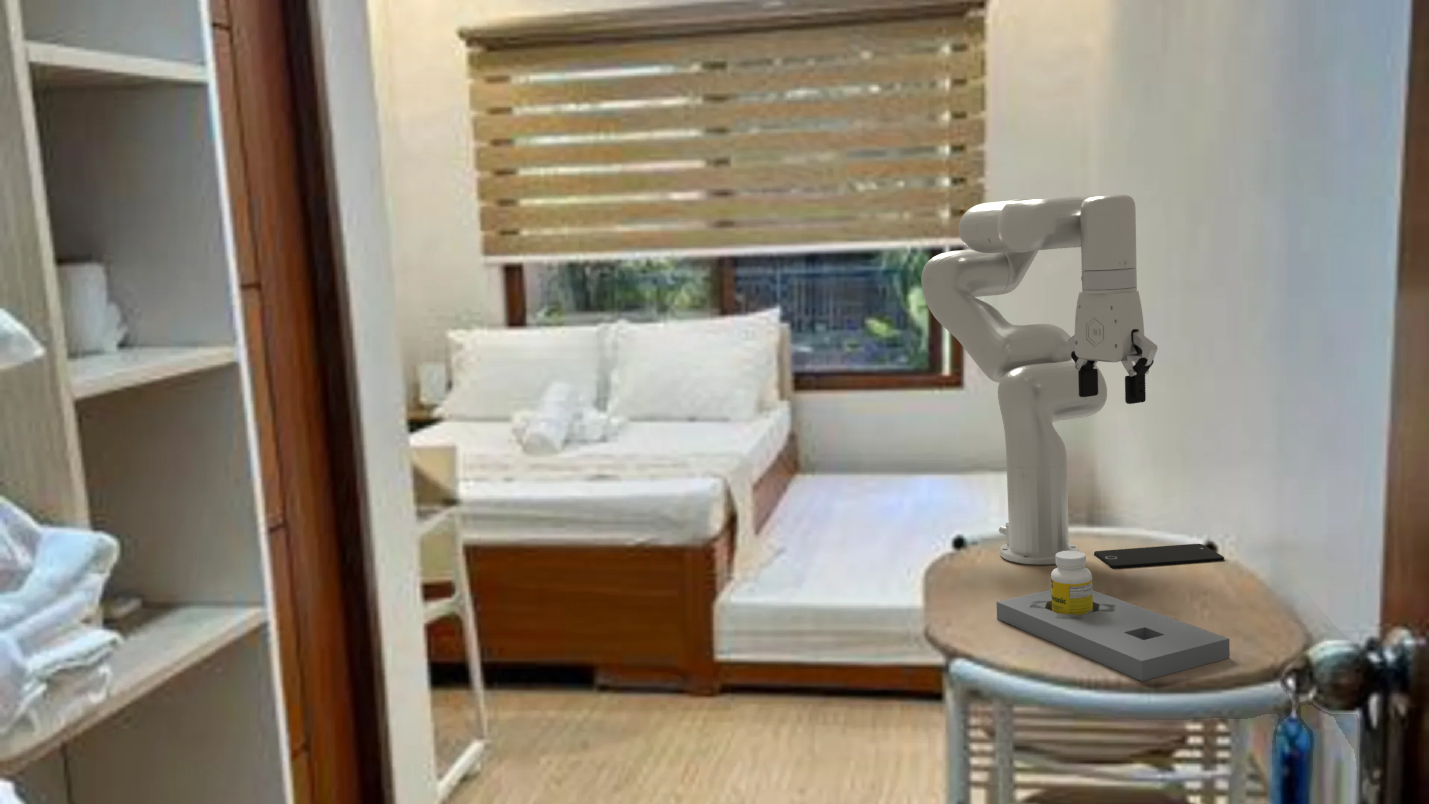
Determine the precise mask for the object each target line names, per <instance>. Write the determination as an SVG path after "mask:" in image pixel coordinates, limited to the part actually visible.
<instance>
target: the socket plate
mask: <svg viewBox="0 0 1429 804" xmlns="http://www.w3.org/2000/svg"><path fill="white" fill-rule="evenodd" d="M1092 596H1093V612H1092V613H1087V614H1083V615H1073V614H1058V613H1056V612H1053V611H1052V592H1051V589H1048V590H1044V591H1039V592H1034V593H1030V594H1024V595H1022V596H1017V597H1012V598H1007V599H1002V600H999V601H996V619H997V620H998V621H1002V622H1003V621H1004V622H1003V623H1006V624H1008V623H1009V625H1010V624H1011V625H1010V626H1012V627H1015V626H1016V627H1015V628H1016V629H1017V628H1018V629H1020V630H1022V631H1025V632H1027V633H1029V634H1032V635H1034V636H1036V637H1038V638H1040V639H1044V640H1046V641H1047V642H1050V643H1053V644H1054V645H1057V646H1059V647H1061V648H1064V649H1066V650H1069V651H1071V652H1073V653H1075V654H1078V655H1080V656H1083V657H1085V658H1087V659H1089V660H1092V661H1094V662H1097V663H1099V664H1101V665H1103V666H1105V667H1109V668H1110V669H1113V670H1115V671H1118V672H1120V673H1122V674H1124V675H1127V676H1129V677H1131V678H1133V679H1136V680H1139V681H1141V682H1145V681H1148V680H1151V679H1156V678H1159V677H1162V676H1166V675H1171V674H1173V673H1178V672H1181V671H1185V670H1190V669H1192V668H1197V667H1201V666H1204V665H1208V664H1211V663H1215V662H1219V661H1220V662H1221V661H1223V660H1227V659H1230V638H1229V637H1226V636H1223V635H1220V634H1218V633H1216V632H1215V633H1214V632H1212V631H1210V630H1207V629H1204V628H1201V627H1198V626H1195V625H1193V624H1189V623H1187V622H1184V621H1181V620H1178V619H1175V618H1172V617H1170V616H1167V615H1164V614H1162V613H1158V612H1156V611H1153V610H1150V609H1147V608H1145V607H1141V606H1138V605H1136V604H1133V603H1130V602H1128V601H1124V600H1121V599H1120V598H1116V597H1114V596H1111V595H1108V594H1105V593H1101V592H1099V591H1096V590H1094V589H1092Z"/></svg>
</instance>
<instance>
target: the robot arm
mask: <svg viewBox="0 0 1429 804" xmlns="http://www.w3.org/2000/svg"><path fill="white" fill-rule="evenodd" d="M1136 219H1137V215H1136V202H1135V200H1134V198H1133V197H1132V196H1130V195H1127V194H1113V195H1112V194H1109V195H1108V194H1107V195H1106V194H1105V195H1083V196H1082V195H1081V196H1062V197H1048V198H1045V197H1044V198H1036V199H1028V198H1017V199H1011V200H1010V199H1008V200H1000V201H992V202H991V201H990V202H983V203H979V204H976V205H973V206H972V207H970V208H969V209H968V210H966V211H965V213H963V215H962V216H961V218H960V220H959V223H958V234H959V237H960V240H961V241H962V243H963V245H965V246H966V247H967V248H969V249H961V250H951V251H945V252H942V253H939V254H937V255H935V256H933V257H932V258H931V259H929V260H927V262H926V263H925V265H924V266H923V269H922V270H921V271H922V272H921V280H920V281H921V288H922V292H923V293H922V294H923V297H924V300H925V302H926V305H927V307H928V309H929V311H930V313H931V314H932V316H933V317H934V318H935V319H936V321H937V322H938V323H939V324H940V325H941V326H942V328H944V329H945V330H946V331H948V332H949V333H950V334H951V335H952V336H953V337H954V338H956V340H957V341H958V342H959V343H960V345H961V346H962V348H963V349H964V350H965V351H966V352H967V354H968V355H969V356H970V357H971V359H972V360H973V361H974V363H975V364H976V365H977V366H978V367H979V369H980V370H981V372H982V373H983V374H984V376H985V377H987V378H988V379H989V380H991V381H992V382H995V383H998V387H997V400H998V405H999V411H1000V413H1001V419H1002V423H1003V430H1004V431H1003V432H1004V439H1005V454H1006V455H1005V458H1006V462H1005V463H1006V483H1007V484H1006V487H1007V488H1006V489H1007V514H1008V515H1007V516H1008V517H1007V519H1008V521H1007V522H1006V523H1005V525H1001V526H999V528H998V532H999V534H1001V535H1004V536H1006V543H1004V544H1002V545H1001V546H1000V547H999V555H1000V556H1001V557H1002V558H1003V559H1004V560H1006V561H1009V562H1013V563H1017V564H1021V565H1022V564H1024V565H1035V566H1036V565H1038V566H1040V565H1043V566H1044V565H1056V562H1055V561H1056V557H1055V555H1056V553H1058V552H1061V551H1079V552H1080V548H1079V547H1078V546H1077V545H1076V544H1074V543H1072V542H1069V541H1070V539H1069V537H1070V535H1069V497H1068V495H1069V493H1068V491H1069V490H1068V465H1067V463H1068V460H1067V449H1066V446H1065V443H1064V441H1063V439H1062V437H1061V436H1060V435H1059V433H1058V432H1057V431H1056V429H1055V427H1054V425H1053V423H1055V422H1059V421H1060V422H1061V421H1066V420H1074V419H1075V420H1076V419H1082V418H1087V417H1091V416H1093V415H1095V414H1097V413H1099V412H1100V411H1101V410H1102V409H1103V408H1104V406H1105V404H1106V402H1107V398H1108V387H1107V382H1106V380H1105V377H1104V375H1103V373H1102V371H1101V370H1100V369H1099V367H1098V366H1097V363H1098V362H1104V363H1119V362H1120V363H1121V364H1122V365H1123V368H1124V369H1125V371H1126V372H1127V374H1128V375H1125V376H1124V388H1125V389H1124V391H1125V392H1124V395H1125V396H1124V400H1125V401H1124V402H1125V403H1126V404H1128V405H1133V404H1140V403H1144V402H1146V397H1147V396H1146V375H1148V374H1149V373H1150V368H1152V366H1153V364H1154V363H1155V362H1154V360H1155V357H1156V354H1157V351H1158V345H1157V344H1156V343H1154V342H1153V341H1152V340H1150V339H1149V338H1148V337H1146V336H1145V328H1144V327H1145V325H1144V315H1143V307H1142V301H1141V297H1140V292H1139V290H1138V280H1137V278H1138V277H1137V276H1138V275H1137V269H1138V267H1137V227H1136V226H1137V220H1136ZM1068 248H1071V249H1072V248H1073V249H1074V248H1080V252H1081V253H1080V255H1081V256H1080V257H1081V258H1080V259H1081V277H1080V279H1081V280H1080V281H1081V291H1079V293H1078V297H1077V301H1076V308H1075V318H1074V335H1072V336H1071V335H1069V333H1068V332H1067V331H1066V330H1064V329H1063V328H1061V327H1059V326H1057V325H1054V324H1050V323H1036V324H1025V325H1024V324H1023V325H1020V324H1016V325H1015V324H1012V323H1010V321H1007V319H1006V318H1005V317H1003V315H1002V313H1001V312H1000V311H999V310H998V309H996V308H995V307H994V306H992V305H991V304H989V303H987V302H985V301H983V300H982V299H979V298H977V297H980V298H981V297H990V296H1000V295H1006V294H1010V293H1011V292H1012V291H1014V290H1016V289H1017V288H1018V286H1019V285H1021V283H1022V281H1023V279H1024V277H1025V276H1026V274H1027V272H1028V270H1029V268H1030V266H1031V265H1032V262H1034V260H1035V257H1036V256H1037V254H1038V252H1040V251H1045V250H1046V251H1047V250H1057V249H1068ZM1133 362H1134V363H1133Z"/></svg>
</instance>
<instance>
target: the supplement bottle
mask: <svg viewBox="0 0 1429 804" xmlns="http://www.w3.org/2000/svg"><path fill="white" fill-rule="evenodd" d="M1055 557H1056V561H1055V562H1056V564H1055V565H1056V566H1057V567H1056V568H1054V569H1053V570H1052V571H1051V572H1050V573H1051V574H1050V584H1051V585H1050V586H1051V589H1050V590H1051V592H1052V611H1053V612H1056V613H1058V614H1073V615H1083V614H1087V613H1092V612H1093V596H1092V590H1093V576H1092V575H1093V574H1092V572H1091V570H1089V569H1088V568H1087V567H1086V566H1087V555H1086V553H1084V552H1082V551H1080V550H1079V551H1061V552H1058V553H1056V555H1055Z"/></svg>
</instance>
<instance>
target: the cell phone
mask: <svg viewBox="0 0 1429 804" xmlns="http://www.w3.org/2000/svg"><path fill="white" fill-rule="evenodd" d="M1093 555H1094V557H1095V558H1097V559H1098V560H1100V561H1101V562H1103V563H1104V564H1105V565H1106V566H1108V567H1109V568H1110V569H1113V570H1117V569H1118V570H1121V569H1133V568H1135V569H1136V568H1146V567H1147V568H1148V567H1158V566H1172V565H1173V566H1174V565H1175V566H1176V565H1186V564H1189V565H1190V564H1199V563H1201V564H1202V563H1214V562H1224V561H1225V557H1224V556H1223V555H1221V554H1219V553H1218V552H1216V551H1215V550H1213V549H1212V548H1209V547H1208V546H1206V545H1204V544H1203V543H1187V544H1175V545H1162V546H1161V545H1160V546H1158V545H1157V546H1146V547H1135V548H1120V549H1119V548H1118V549H1105V550H1095V551H1094V552H1093Z"/></svg>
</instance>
